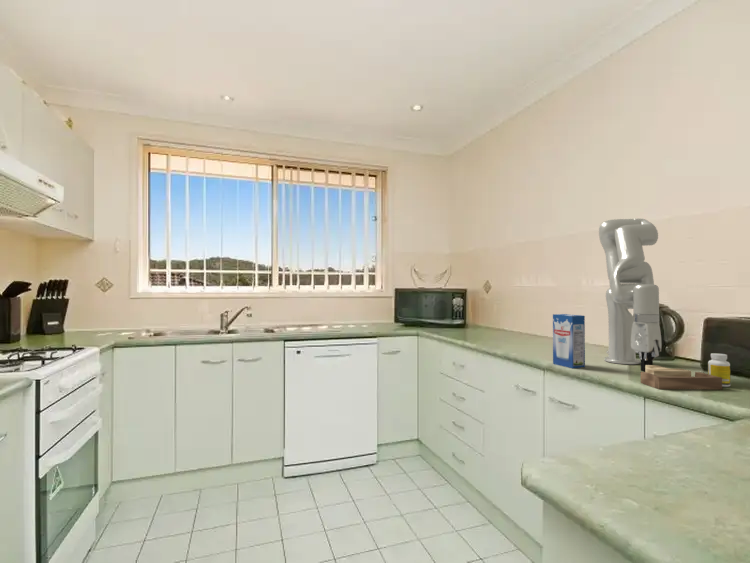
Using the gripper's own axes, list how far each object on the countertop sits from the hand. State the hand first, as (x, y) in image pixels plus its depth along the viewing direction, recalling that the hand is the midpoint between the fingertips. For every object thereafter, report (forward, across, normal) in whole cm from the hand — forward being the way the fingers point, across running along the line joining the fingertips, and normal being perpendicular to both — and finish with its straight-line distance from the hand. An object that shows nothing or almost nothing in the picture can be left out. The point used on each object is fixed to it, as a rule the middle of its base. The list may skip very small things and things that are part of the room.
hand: (646, 371), depth 141 cm
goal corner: (+1, +15, 0) cm, 15 cm away
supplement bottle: (+2, +14, +13) cm, 20 cm away
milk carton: (+2, -18, -19) cm, 26 cm away
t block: (+1, +7, 0) cm, 7 cm away
